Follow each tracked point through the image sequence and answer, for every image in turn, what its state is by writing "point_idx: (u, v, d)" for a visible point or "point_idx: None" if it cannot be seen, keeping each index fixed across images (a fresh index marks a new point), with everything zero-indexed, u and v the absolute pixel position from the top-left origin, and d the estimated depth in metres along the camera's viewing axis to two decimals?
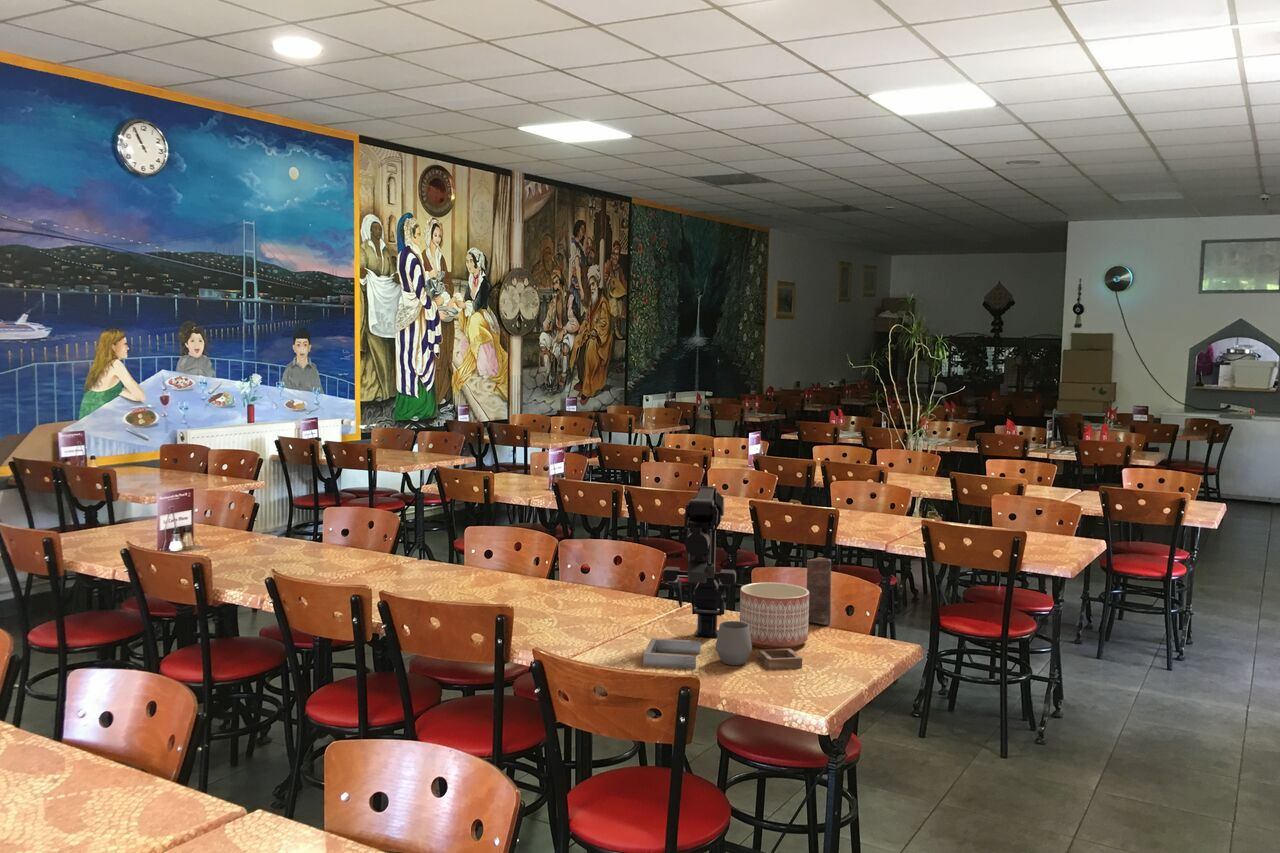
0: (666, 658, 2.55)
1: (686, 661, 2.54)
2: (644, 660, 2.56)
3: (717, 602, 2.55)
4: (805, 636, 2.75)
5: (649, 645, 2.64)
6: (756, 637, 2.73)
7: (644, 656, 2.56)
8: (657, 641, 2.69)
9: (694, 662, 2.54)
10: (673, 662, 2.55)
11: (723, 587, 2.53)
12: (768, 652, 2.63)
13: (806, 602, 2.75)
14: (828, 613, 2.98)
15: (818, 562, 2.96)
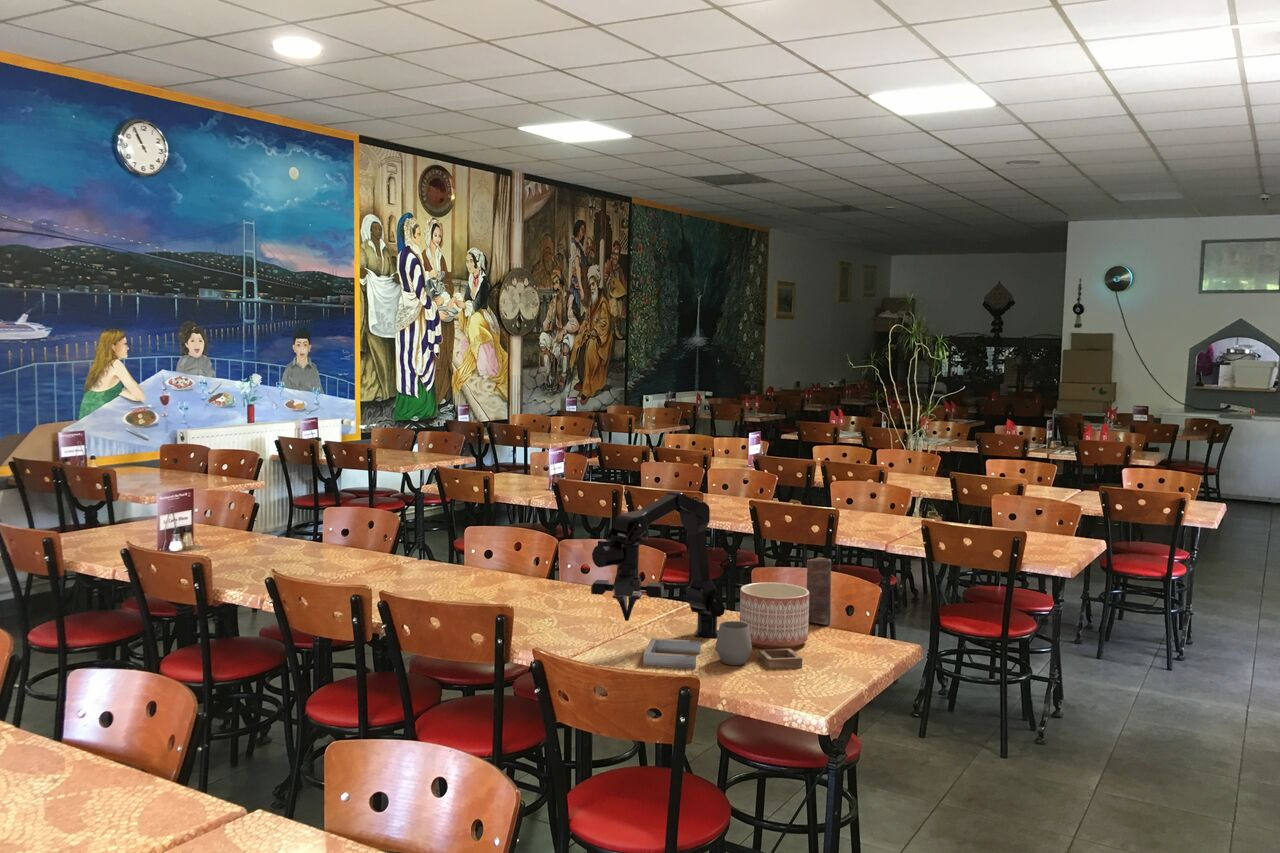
0: (666, 658, 2.55)
1: (686, 661, 2.54)
2: (644, 660, 2.56)
3: (628, 613, 2.63)
4: (805, 636, 2.75)
5: (649, 645, 2.64)
6: (756, 637, 2.73)
7: (644, 656, 2.56)
8: (657, 641, 2.69)
9: (694, 662, 2.54)
10: (673, 662, 2.55)
11: (633, 599, 2.60)
12: (768, 652, 2.63)
13: (806, 602, 2.75)
14: (828, 613, 2.98)
15: (818, 562, 2.96)
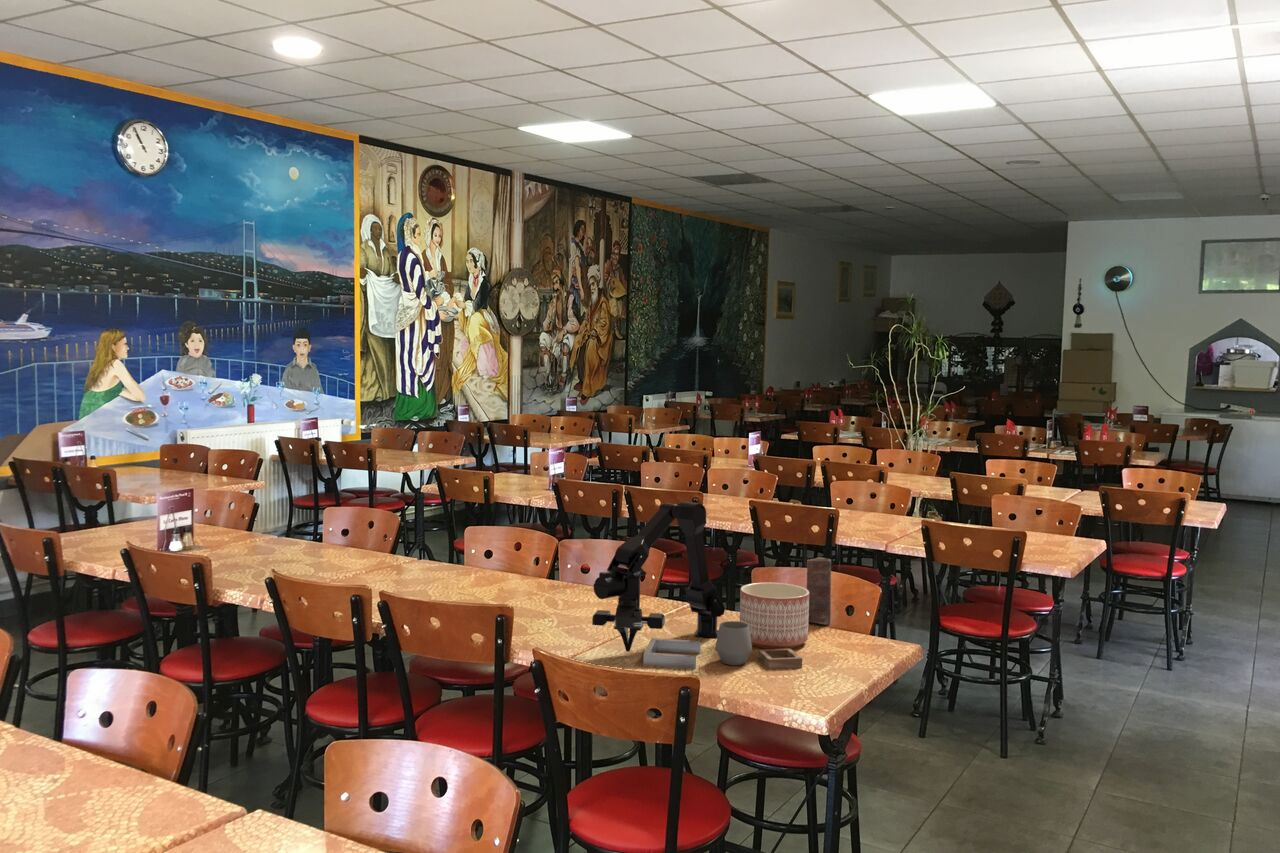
0: (666, 658, 2.55)
1: (686, 661, 2.54)
2: (644, 660, 2.56)
3: (629, 644, 2.63)
4: (805, 636, 2.75)
5: (649, 645, 2.64)
6: (756, 637, 2.73)
7: (644, 656, 2.56)
8: (657, 641, 2.69)
9: (694, 662, 2.54)
10: (673, 662, 2.55)
11: (634, 630, 2.61)
12: (768, 652, 2.63)
13: (806, 602, 2.75)
14: (828, 613, 2.98)
15: (818, 562, 2.96)
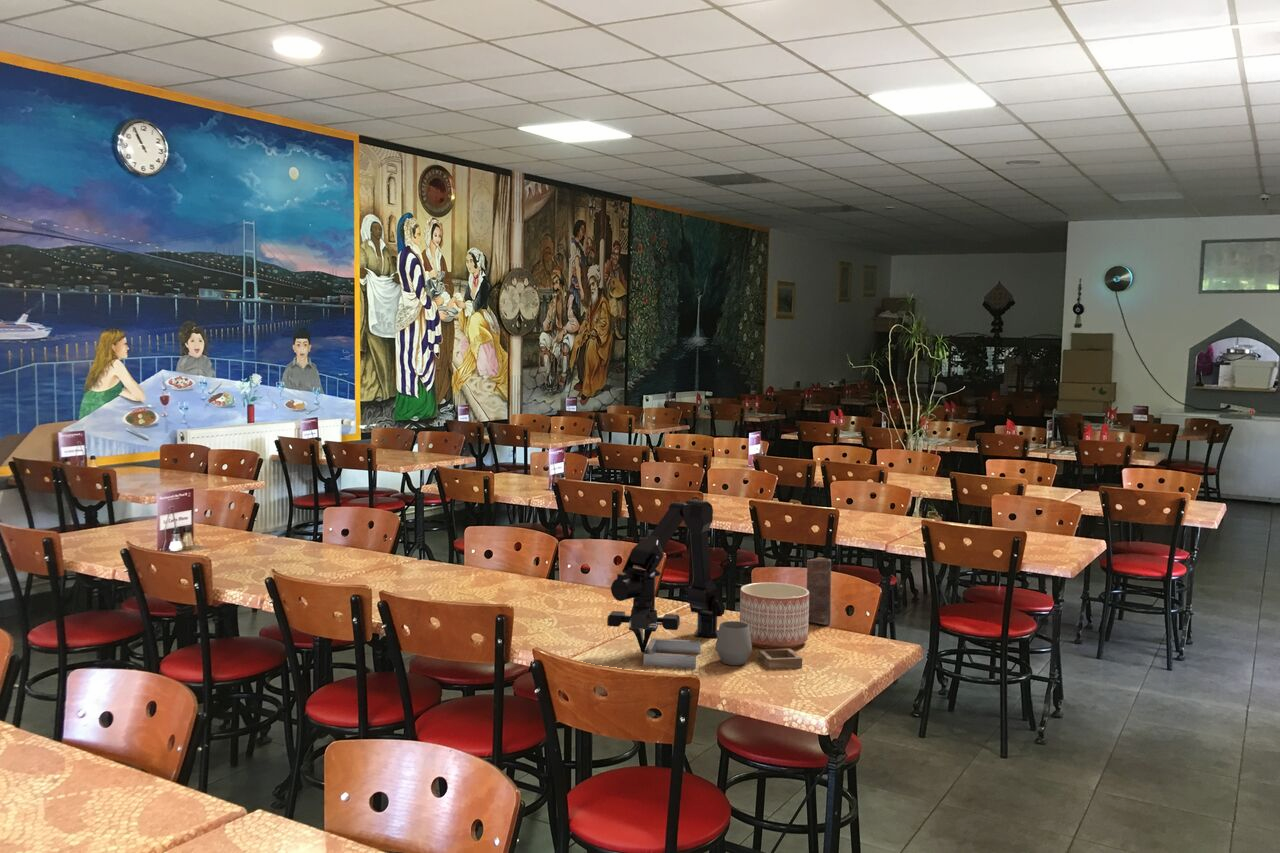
0: (666, 658, 2.55)
1: (687, 660, 2.54)
2: (644, 660, 2.56)
3: (644, 645, 2.63)
4: (805, 636, 2.75)
5: (649, 645, 2.64)
6: (756, 637, 2.73)
7: (644, 656, 2.56)
8: (657, 641, 2.69)
9: (694, 662, 2.54)
10: (673, 662, 2.55)
11: (649, 631, 2.60)
12: (768, 652, 2.63)
13: (806, 602, 2.75)
14: (828, 613, 2.98)
15: (818, 562, 2.96)
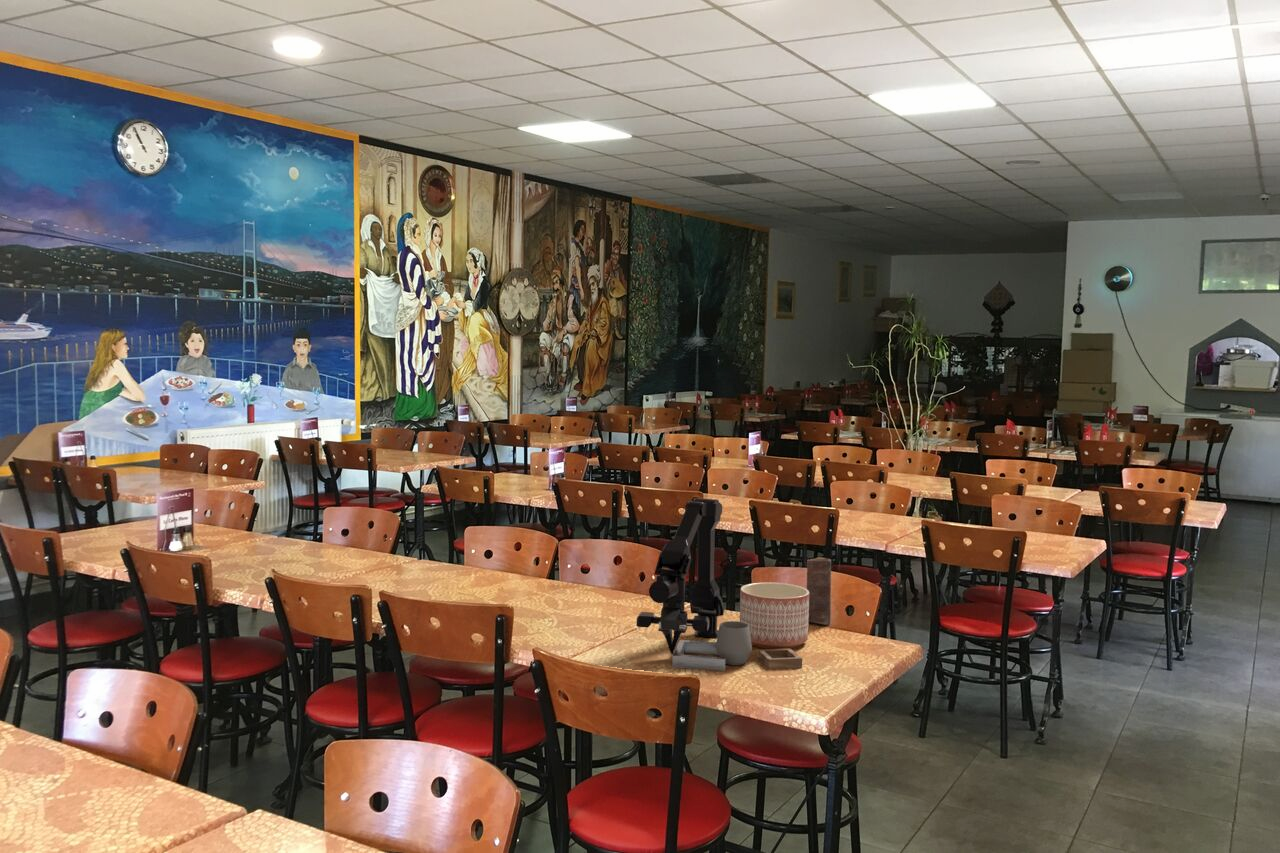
0: (696, 660, 2.54)
1: (716, 663, 2.53)
2: (673, 662, 2.55)
3: (673, 647, 2.61)
4: (805, 636, 2.75)
5: (678, 647, 2.62)
6: (756, 637, 2.73)
7: (673, 658, 2.54)
8: (685, 643, 2.68)
9: (724, 664, 2.52)
10: (702, 664, 2.53)
11: (679, 632, 2.59)
12: (768, 652, 2.63)
13: (806, 602, 2.75)
14: (828, 613, 2.98)
15: (818, 562, 2.96)
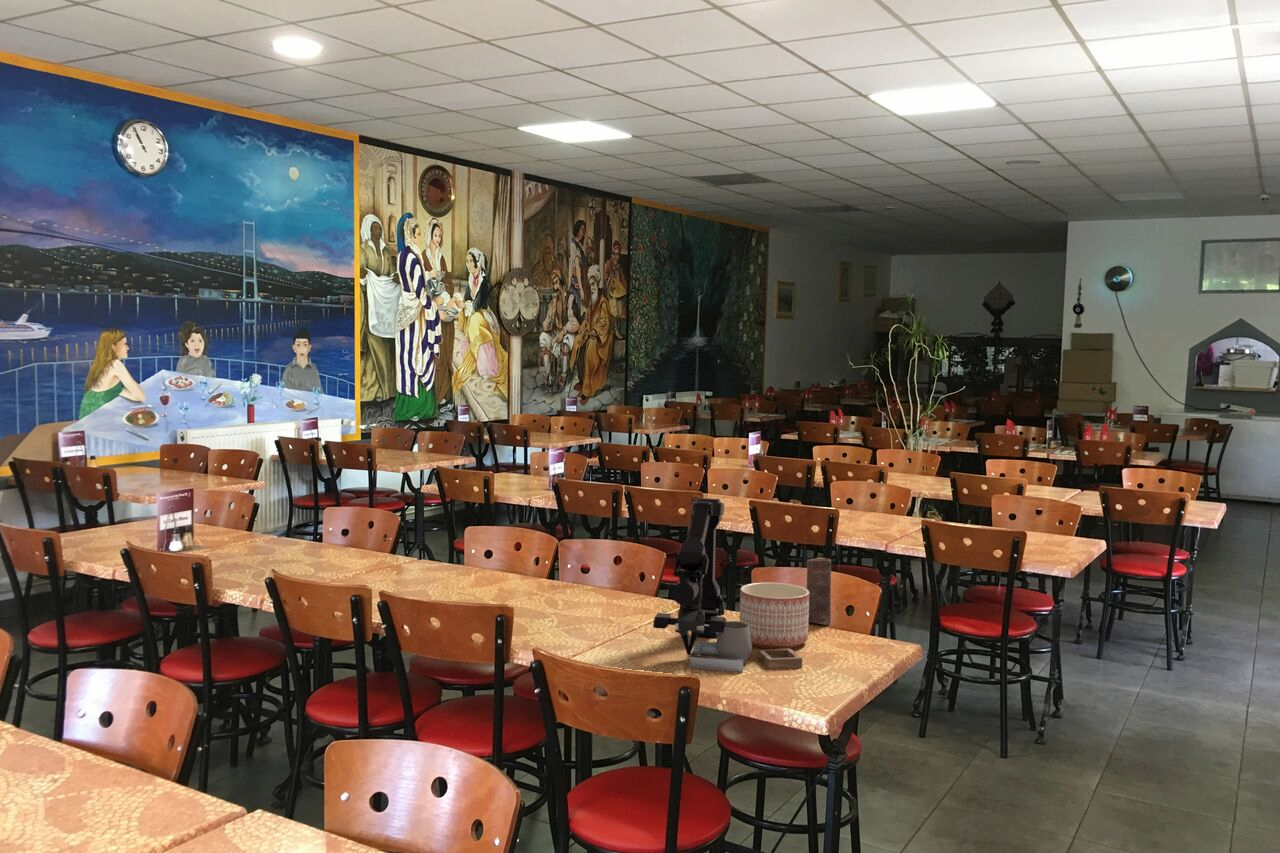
0: (713, 661, 2.53)
1: (734, 664, 2.52)
2: (691, 663, 2.54)
3: (690, 648, 2.61)
4: (805, 636, 2.75)
5: (695, 648, 2.61)
6: (756, 637, 2.73)
7: (691, 659, 2.54)
8: (702, 644, 2.67)
9: (741, 665, 2.52)
10: (720, 665, 2.53)
11: (696, 633, 2.58)
12: (768, 652, 2.63)
13: (806, 602, 2.75)
14: (828, 613, 2.98)
15: (818, 562, 2.96)
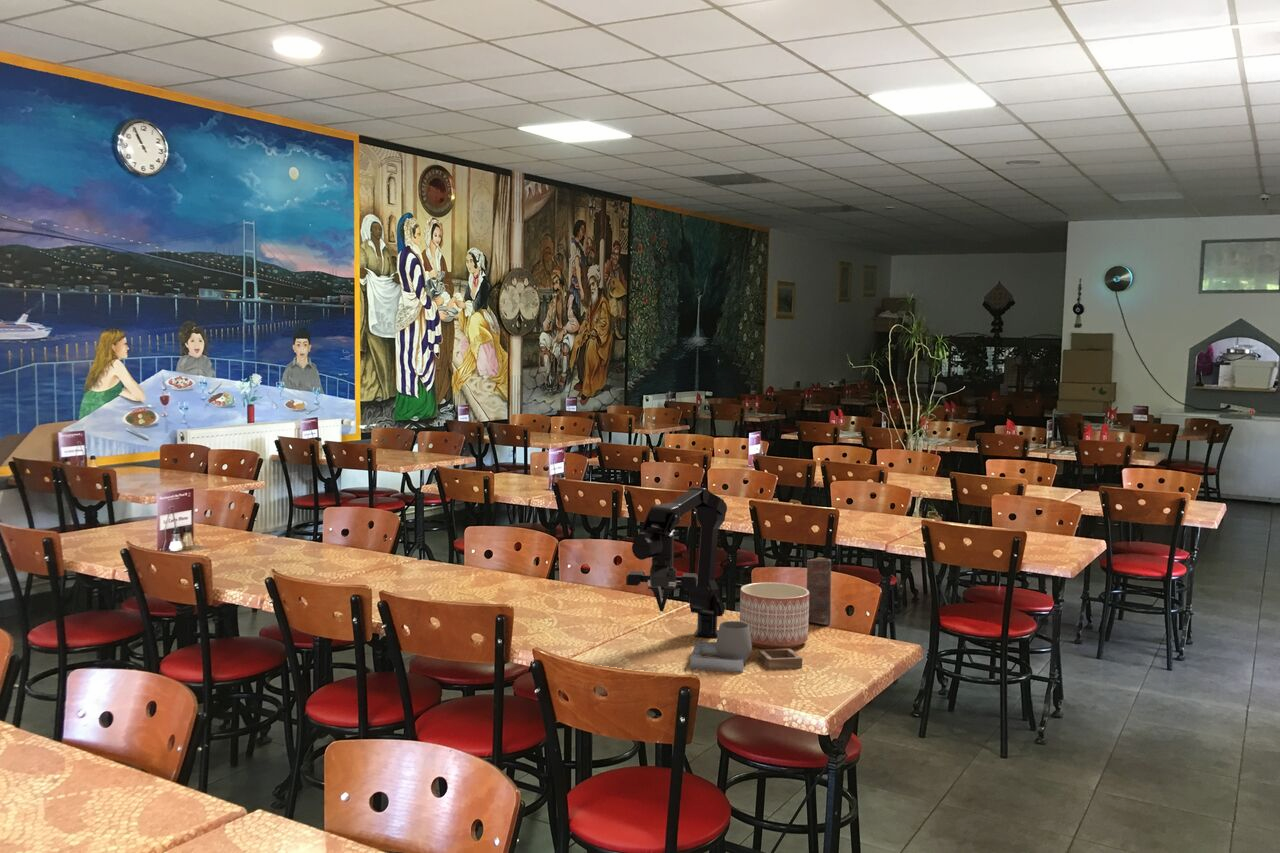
0: (713, 661, 2.53)
1: (734, 664, 2.52)
2: (691, 663, 2.54)
3: (663, 604, 2.64)
4: (805, 636, 2.75)
5: (695, 648, 2.61)
6: (756, 637, 2.73)
7: (691, 659, 2.54)
8: (702, 644, 2.67)
9: (742, 666, 2.52)
10: (720, 666, 2.53)
11: (668, 590, 2.62)
12: (768, 652, 2.63)
13: (806, 602, 2.75)
14: (828, 613, 2.98)
15: (818, 562, 2.96)
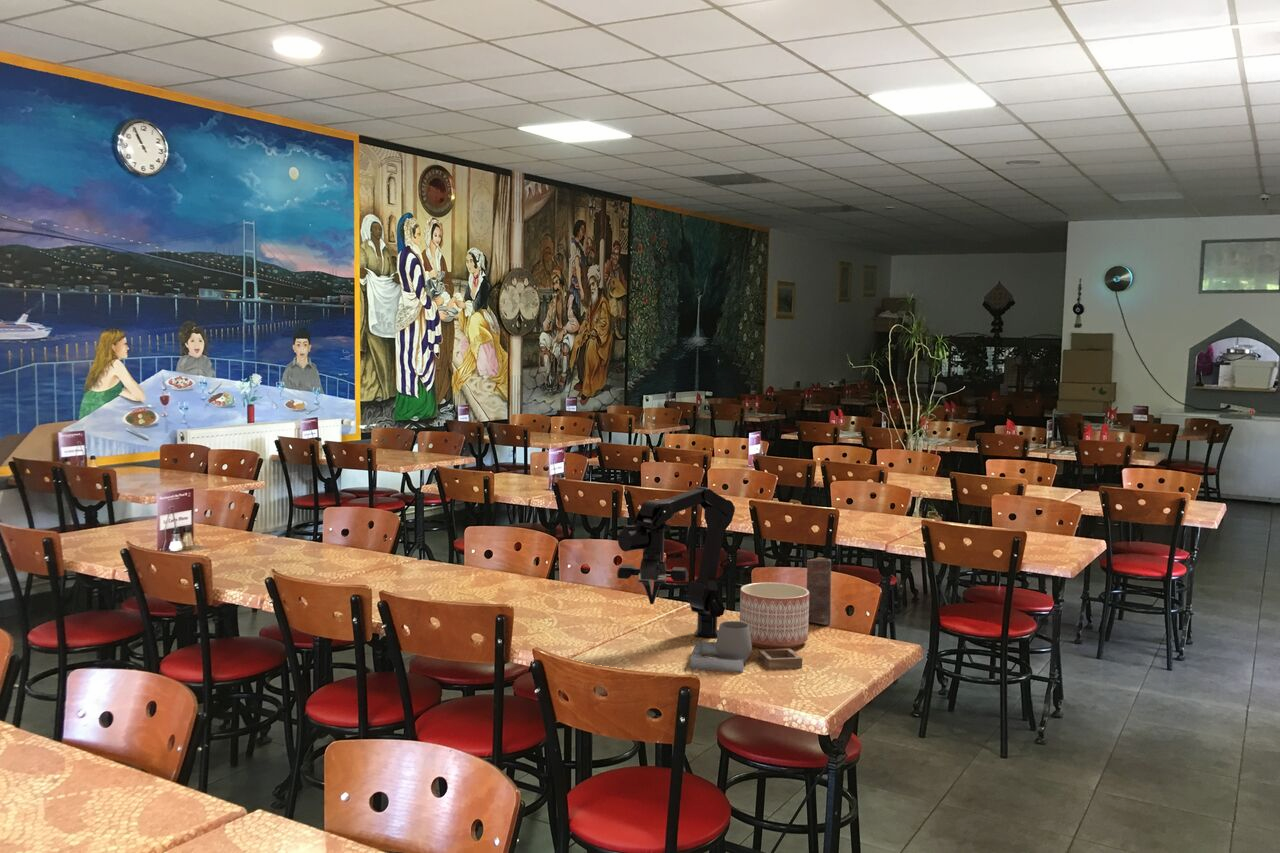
0: (713, 661, 2.53)
1: (734, 664, 2.52)
2: (691, 663, 2.54)
3: (653, 597, 2.70)
4: (805, 636, 2.75)
5: (695, 648, 2.61)
6: (756, 637, 2.73)
7: (691, 659, 2.54)
8: (702, 644, 2.67)
9: (742, 666, 2.52)
10: (720, 665, 2.53)
11: (658, 583, 2.68)
12: (768, 652, 2.63)
13: (806, 602, 2.75)
14: (828, 613, 2.98)
15: (818, 562, 2.96)
